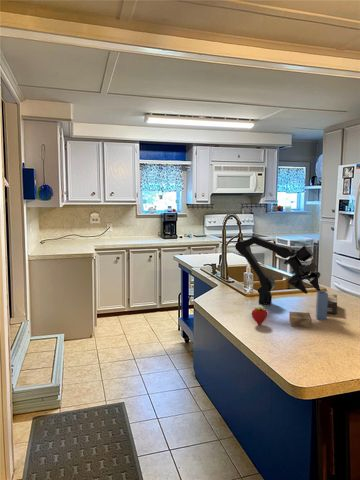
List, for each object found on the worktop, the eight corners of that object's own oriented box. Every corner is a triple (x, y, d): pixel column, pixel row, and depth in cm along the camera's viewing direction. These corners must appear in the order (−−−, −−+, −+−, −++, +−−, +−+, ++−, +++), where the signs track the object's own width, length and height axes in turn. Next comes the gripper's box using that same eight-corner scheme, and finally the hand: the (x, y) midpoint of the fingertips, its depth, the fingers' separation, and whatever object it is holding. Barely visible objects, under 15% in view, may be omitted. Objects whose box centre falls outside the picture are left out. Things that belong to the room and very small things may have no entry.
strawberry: (249, 323, 174) (249, 302, 173) (263, 321, 176) (264, 301, 174) (254, 327, 168) (255, 306, 167) (269, 326, 170) (270, 305, 169)
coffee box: (318, 303, 205) (317, 312, 190) (319, 292, 204) (318, 300, 189) (336, 305, 201) (336, 314, 186) (337, 294, 200) (337, 302, 186)
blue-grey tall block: (316, 319, 180) (318, 291, 178) (315, 316, 184) (317, 289, 182) (326, 319, 179) (328, 292, 177) (324, 316, 183) (326, 289, 181)
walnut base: (290, 325, 170) (291, 317, 170) (289, 319, 179) (289, 311, 179) (311, 327, 169) (311, 319, 168) (308, 320, 177) (309, 312, 177)
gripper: (293, 259, 182) (310, 286, 174) (318, 256, 192) (335, 281, 184) (281, 272, 190) (296, 298, 182) (305, 268, 199) (321, 292, 191)
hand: (313, 292), depth 185 cm, fingers open, 9 cm apart
